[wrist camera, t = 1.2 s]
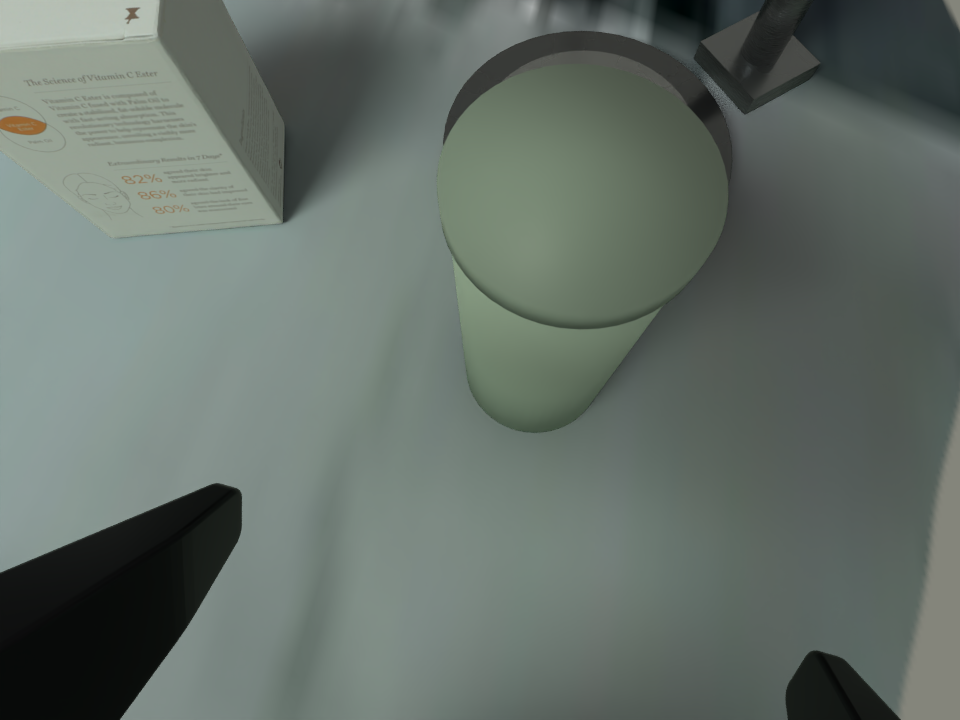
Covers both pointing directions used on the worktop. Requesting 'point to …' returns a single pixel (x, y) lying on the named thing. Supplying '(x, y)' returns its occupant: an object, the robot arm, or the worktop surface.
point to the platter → (603, 53)
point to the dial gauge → (759, 55)
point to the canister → (571, 230)
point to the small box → (140, 114)
